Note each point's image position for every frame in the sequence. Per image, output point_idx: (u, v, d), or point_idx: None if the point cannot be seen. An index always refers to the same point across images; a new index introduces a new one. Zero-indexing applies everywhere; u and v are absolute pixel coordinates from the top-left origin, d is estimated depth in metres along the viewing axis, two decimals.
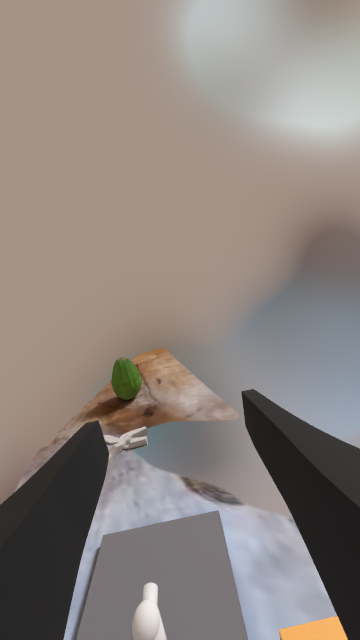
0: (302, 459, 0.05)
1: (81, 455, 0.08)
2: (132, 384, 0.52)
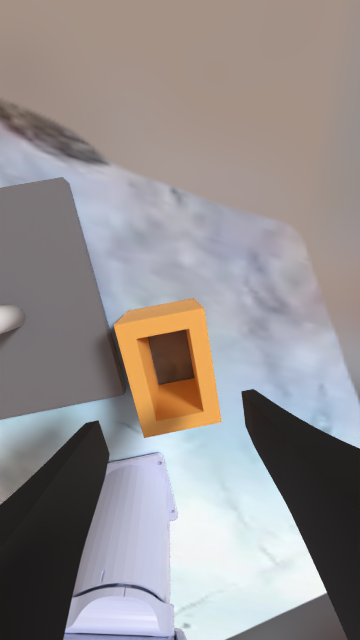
0: (302, 459, 0.05)
1: (81, 455, 0.08)
2: None
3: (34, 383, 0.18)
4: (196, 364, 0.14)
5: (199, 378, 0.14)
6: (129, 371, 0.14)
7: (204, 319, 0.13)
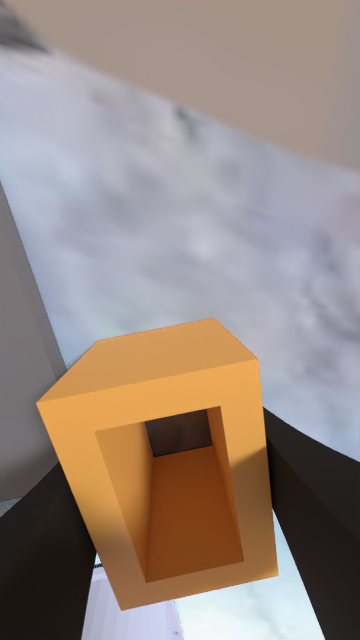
0: (283, 463, 0.05)
1: None
2: None
3: None
4: (233, 476, 0.06)
5: (238, 503, 0.07)
6: (82, 497, 0.06)
7: (257, 384, 0.06)
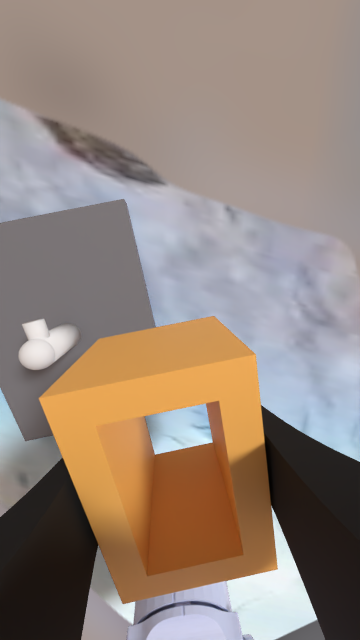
0: (283, 463, 0.05)
1: None
2: None
3: None
4: (232, 471, 0.06)
5: (237, 497, 0.07)
6: (84, 491, 0.06)
7: (255, 379, 0.06)
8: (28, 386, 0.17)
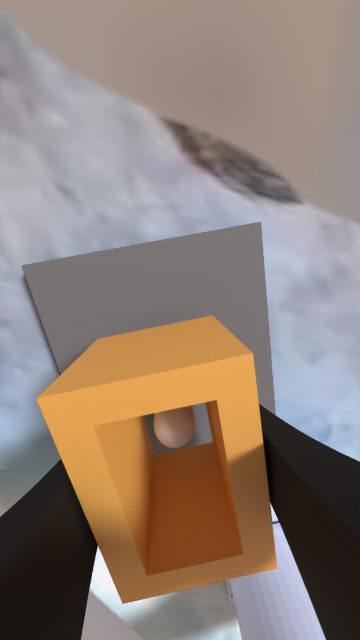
0: (284, 463, 0.05)
1: None
2: None
3: None
4: (230, 470, 0.06)
5: (236, 497, 0.07)
6: (83, 491, 0.06)
7: (252, 378, 0.06)
8: None
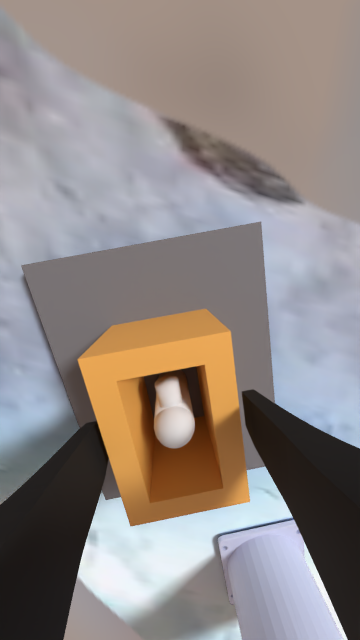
0: (302, 459, 0.05)
1: (81, 455, 0.08)
2: None
3: None
4: (214, 419, 0.09)
5: (218, 440, 0.09)
6: (106, 431, 0.08)
7: (230, 349, 0.08)
8: None
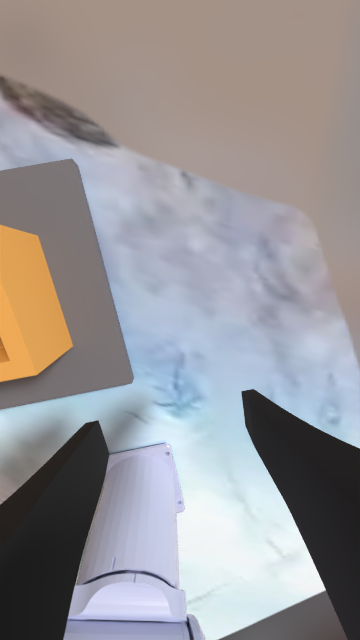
0: (302, 459, 0.05)
1: (81, 455, 0.08)
2: None
3: None
4: None
5: None
6: None
7: None
8: None
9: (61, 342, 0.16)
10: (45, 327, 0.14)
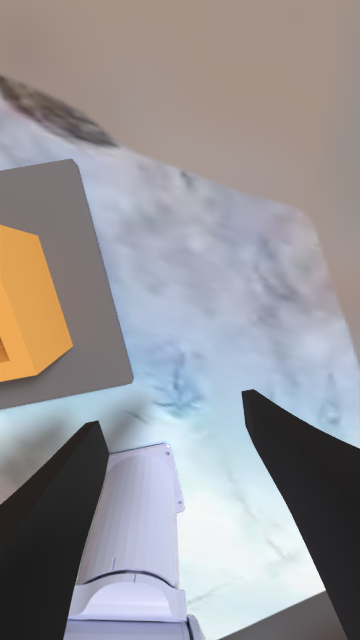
0: (302, 459, 0.05)
1: (81, 455, 0.08)
2: None
3: None
4: None
5: None
6: None
7: None
8: None
9: (61, 342, 0.16)
10: (45, 327, 0.14)
